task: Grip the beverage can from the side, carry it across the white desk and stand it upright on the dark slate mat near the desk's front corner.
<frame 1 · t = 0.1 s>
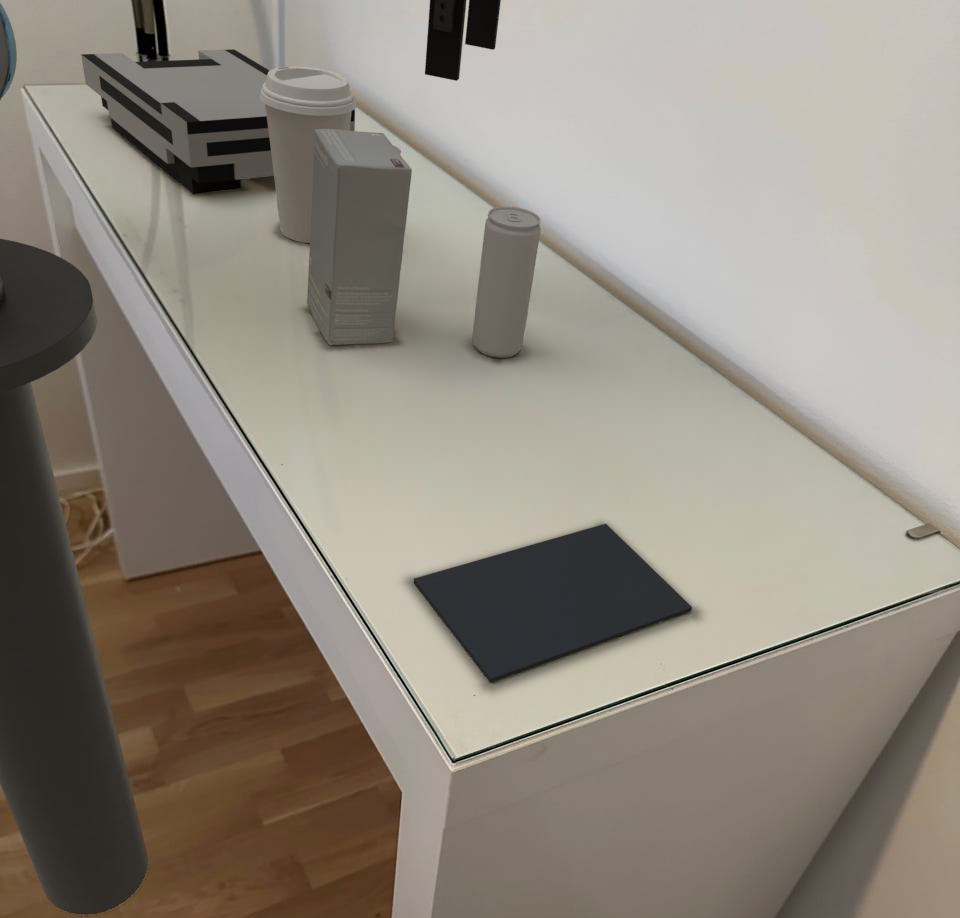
hand: (462, 61, 79), 21 cm above the table, tool pointing down, fingers open, 13 cm apart
beverage can: (496, 349, 87), on the table
game console: (218, 150, 117), on the table
cosmetic box: (353, 327, 86), on the table
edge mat: (553, 597, 61), on the table
coffee cup: (310, 233, 101), on the table
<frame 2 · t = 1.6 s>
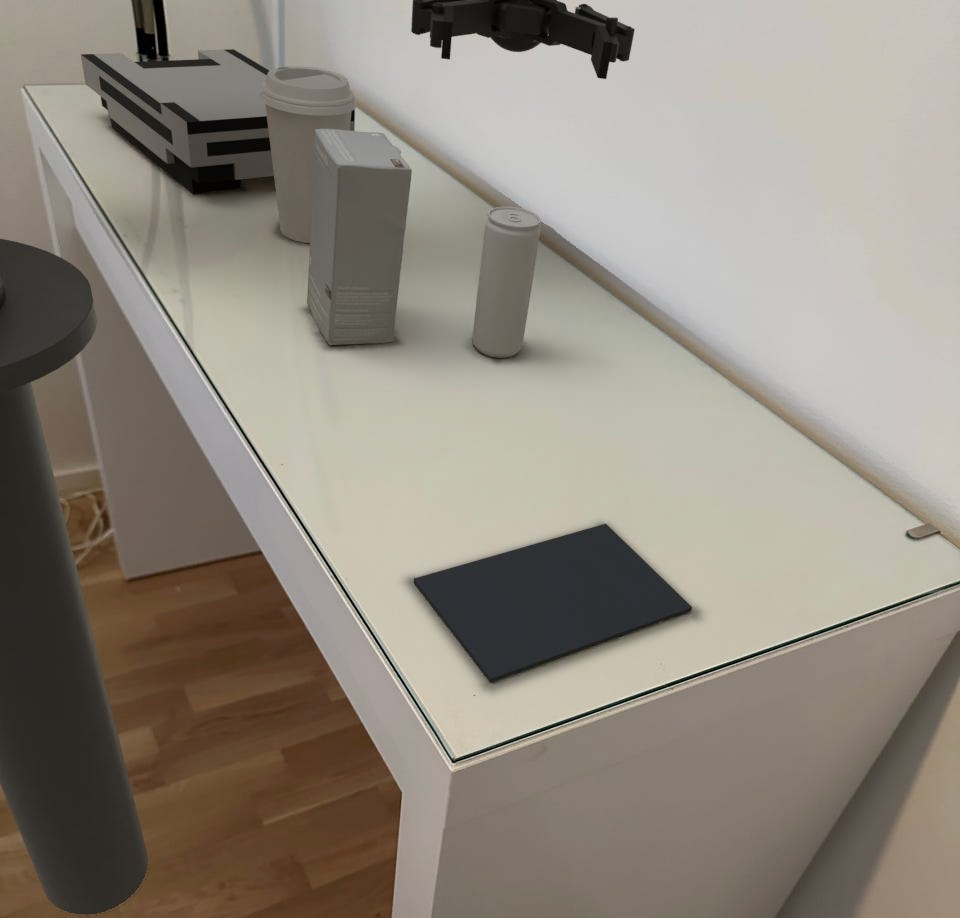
hand: (526, 50, 78), 22 cm above the table, tool horizontal, fingers open, 13 cm apart
nothing on the table moved.
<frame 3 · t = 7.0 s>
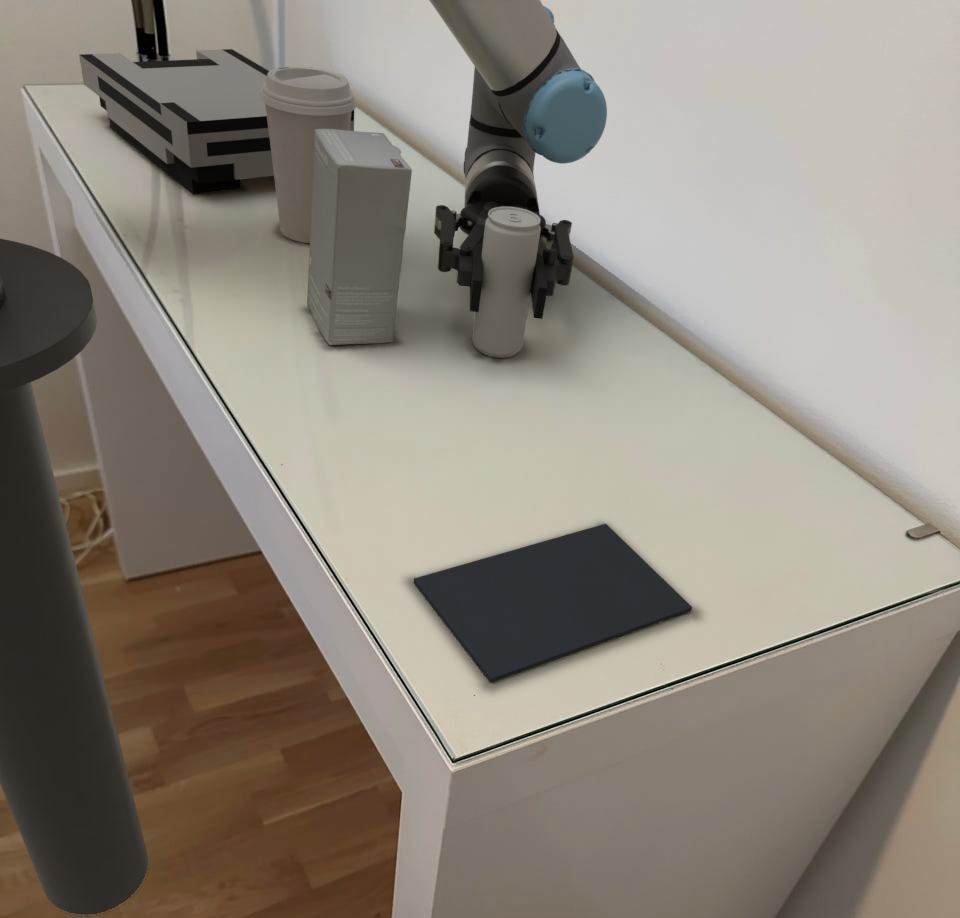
hand: (508, 299, 78), 7 cm above the table, tool horizontal, fingers closed on beverage can, 5 cm apart
beverage can: (496, 349, 87), on the table, touching gripper
everything else where it was.
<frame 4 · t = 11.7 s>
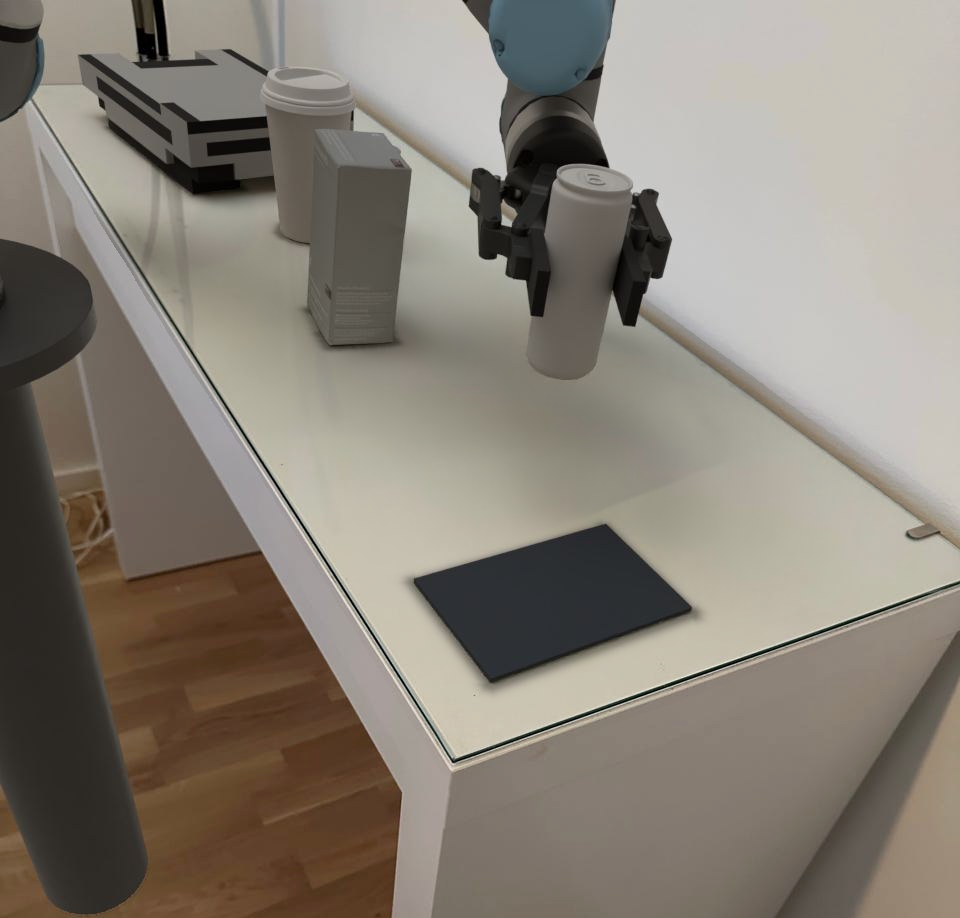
hand: (587, 298, 53), 18 cm above the table, tool horizontal, fingers closed on beverage can, 5 cm apart
beverage can: (558, 368, 62), point 11 cm above the table, touching gripper
everything else where it was.
when the fingers open (7 cm above the table, at t = 16.3 s): beverage can stays where it is, resting on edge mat.
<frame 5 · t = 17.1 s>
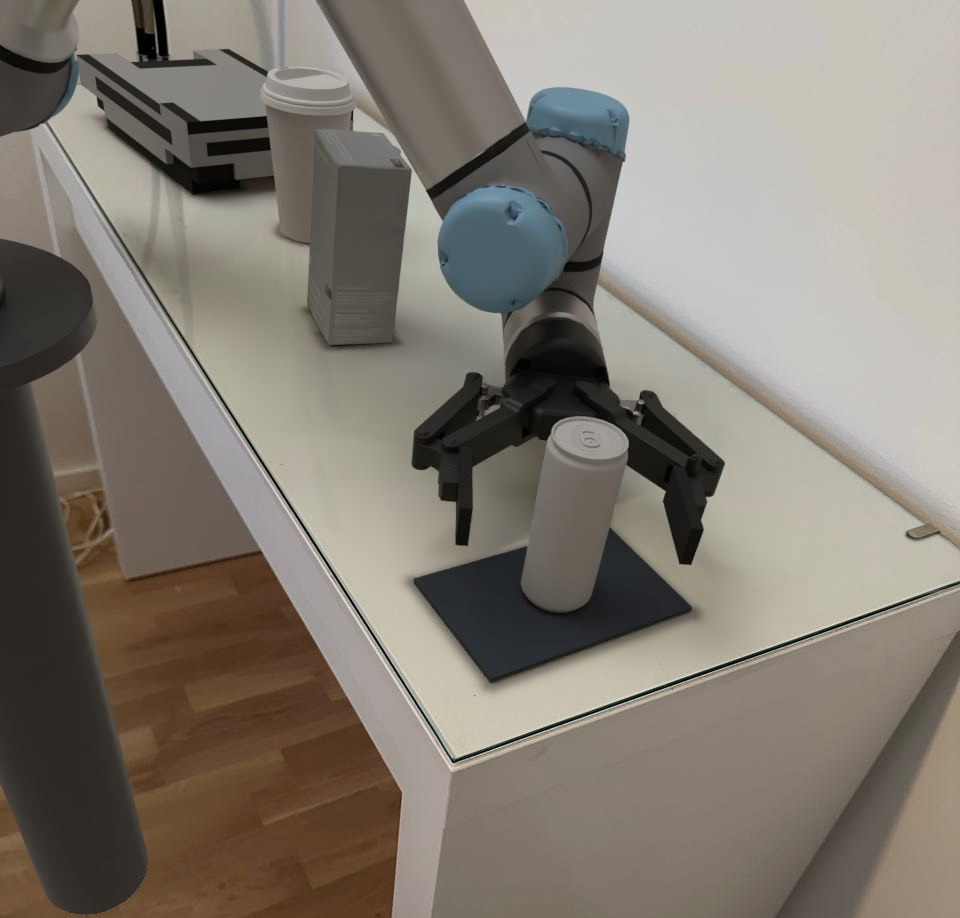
hand: (579, 537, 54), 8 cm above the table, tool horizontal, fingers open, 13 cm apart
beverage can: (554, 594, 61), resting on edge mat
everything else where it was.
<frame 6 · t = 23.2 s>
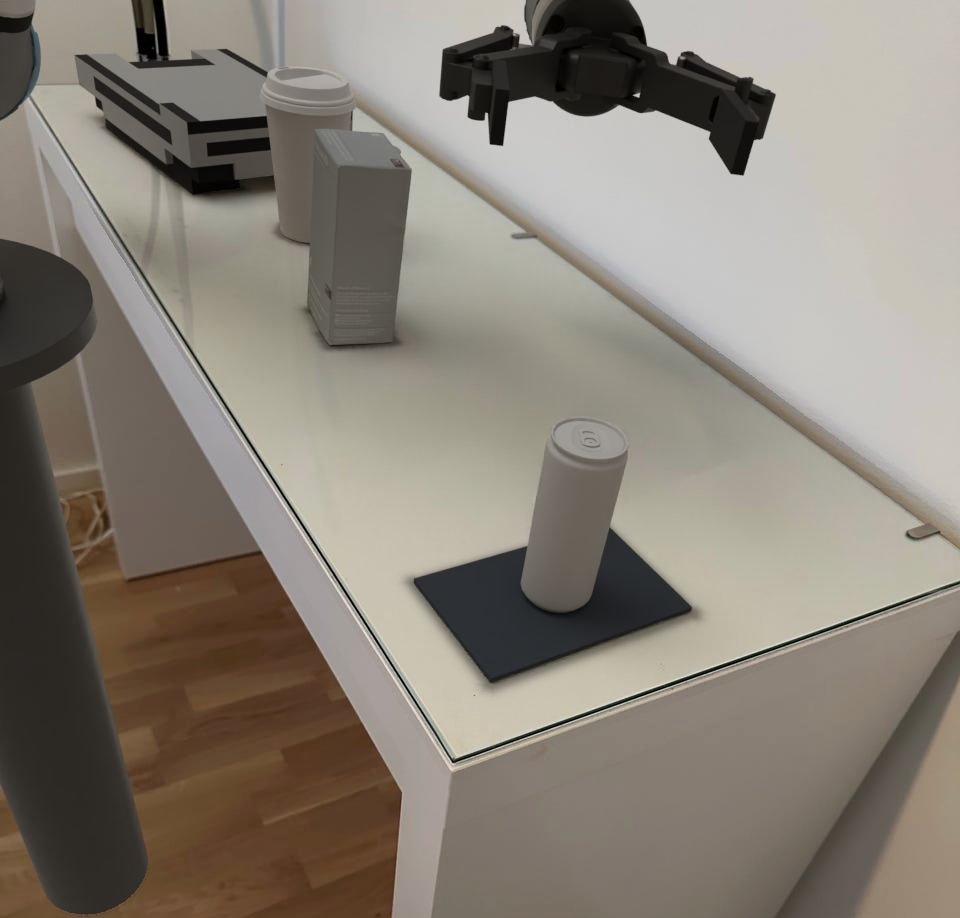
hand: (623, 133, 50), 26 cm above the table, tool horizontal, fingers open, 13 cm apart
nothing on the table moved.
at the end: beverage can inside the target area on the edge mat (0.0 cm from its centre), point 0.2 cm above the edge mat's base; beverage can tilted 0°; the gripper is holding nothing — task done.
